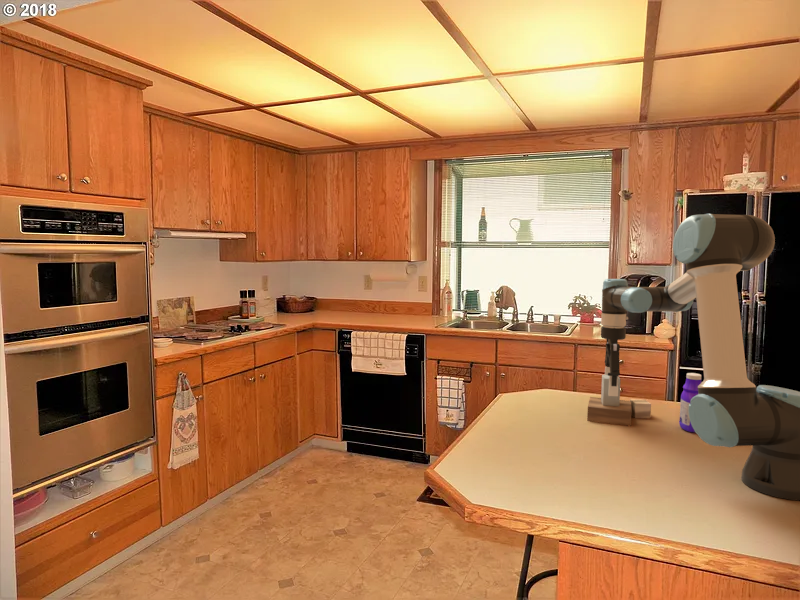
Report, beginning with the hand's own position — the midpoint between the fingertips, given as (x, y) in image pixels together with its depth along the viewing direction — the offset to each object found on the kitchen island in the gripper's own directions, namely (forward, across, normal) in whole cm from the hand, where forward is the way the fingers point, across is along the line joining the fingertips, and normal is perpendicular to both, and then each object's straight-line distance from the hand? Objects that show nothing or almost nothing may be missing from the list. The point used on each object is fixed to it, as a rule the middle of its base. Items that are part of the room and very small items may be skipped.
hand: (610, 390), depth 181 cm
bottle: (+9, -6, -23) cm, 25 cm away
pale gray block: (+4, 0, 0) cm, 4 cm away
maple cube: (+9, +5, -10) cm, 14 cm away
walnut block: (+9, 0, 0) cm, 9 cm away
